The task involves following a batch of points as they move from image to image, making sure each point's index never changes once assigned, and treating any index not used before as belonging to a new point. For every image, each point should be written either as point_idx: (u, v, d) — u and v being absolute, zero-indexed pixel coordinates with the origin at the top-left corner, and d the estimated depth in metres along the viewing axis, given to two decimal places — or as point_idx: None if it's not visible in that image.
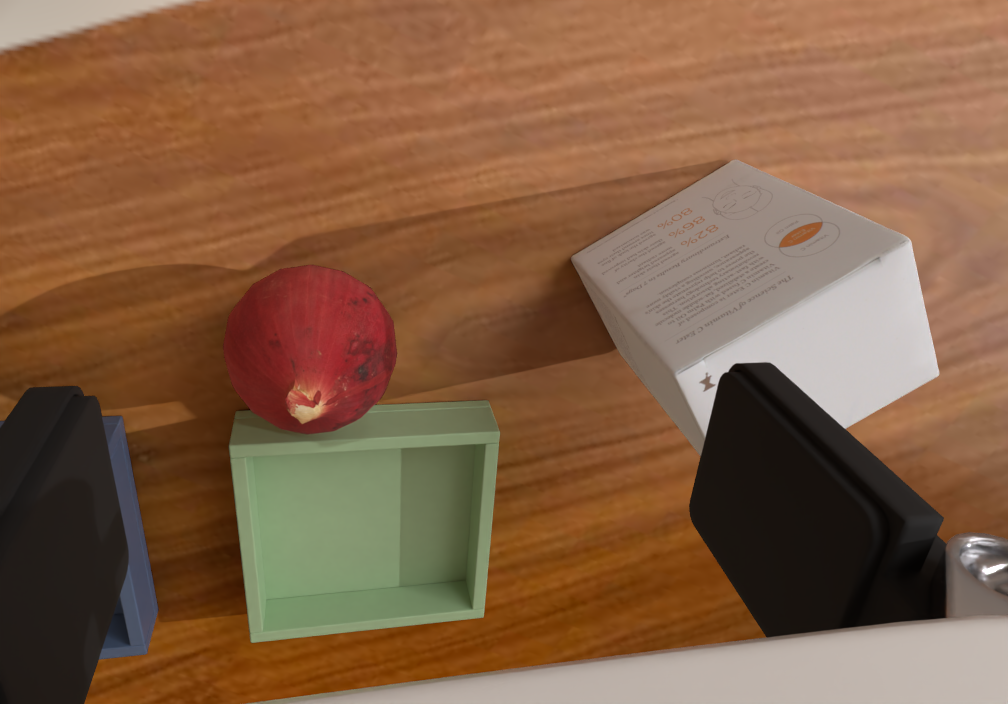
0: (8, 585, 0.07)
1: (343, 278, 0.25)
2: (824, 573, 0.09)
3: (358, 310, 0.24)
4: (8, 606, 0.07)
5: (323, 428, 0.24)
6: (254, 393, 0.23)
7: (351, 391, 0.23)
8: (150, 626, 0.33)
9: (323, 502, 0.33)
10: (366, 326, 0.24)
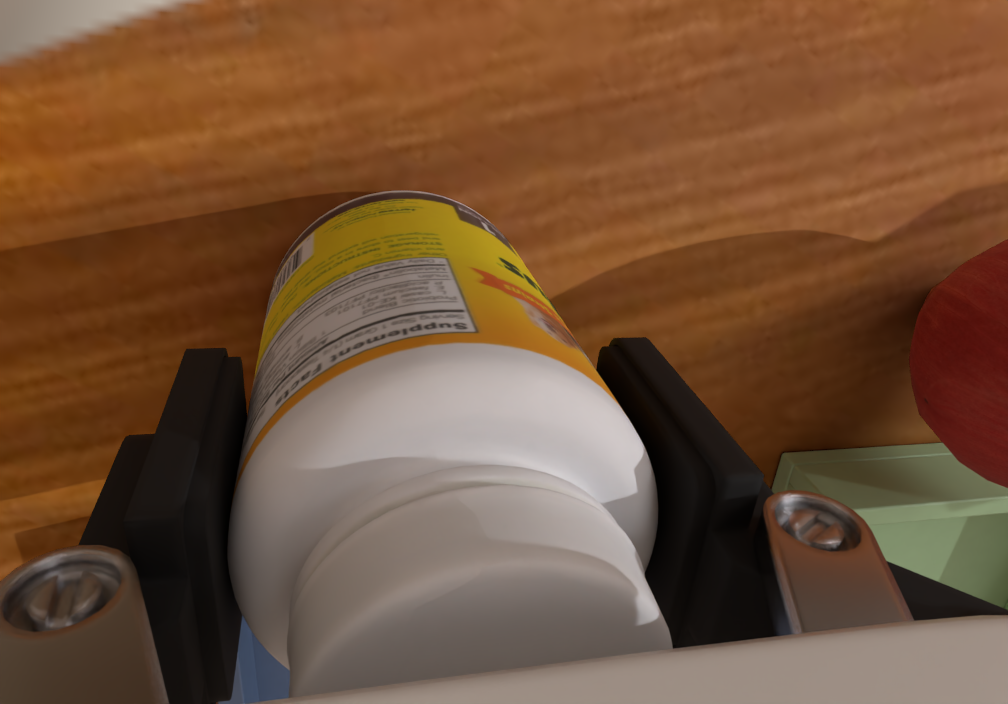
0: (213, 505, 0.08)
1: None
2: (669, 532, 0.10)
3: None
4: (214, 523, 0.08)
5: None
6: None
7: None
8: None
9: None
10: None
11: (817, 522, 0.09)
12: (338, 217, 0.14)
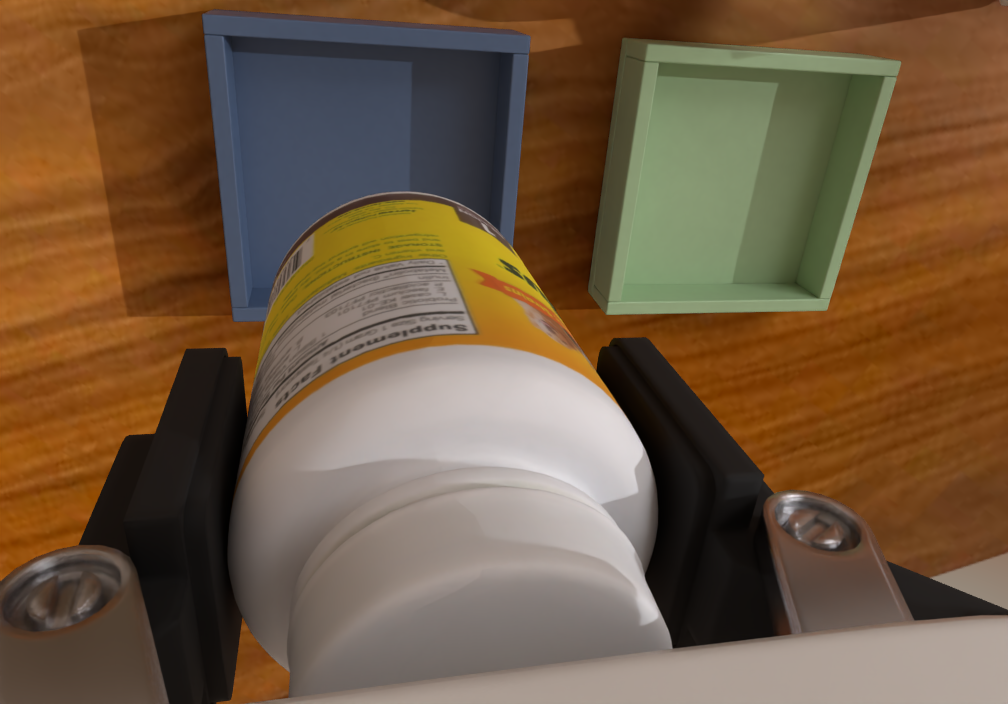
0: (213, 505, 0.08)
1: None
2: (668, 532, 0.10)
3: None
4: (214, 523, 0.08)
5: None
6: None
7: None
8: None
9: (685, 162, 0.31)
10: None
11: (817, 522, 0.09)
12: (338, 218, 0.14)
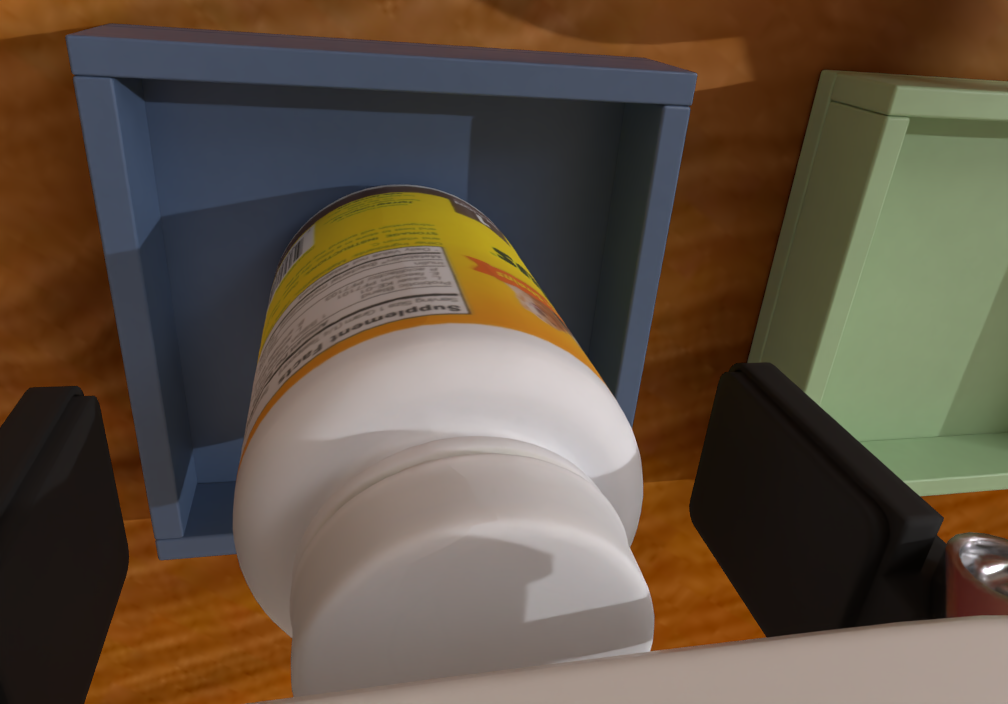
0: (8, 585, 0.07)
1: None
2: (824, 573, 0.09)
3: None
4: (8, 606, 0.07)
5: None
6: None
7: None
8: None
9: (899, 267, 0.19)
10: None
11: None
12: (338, 209, 0.14)
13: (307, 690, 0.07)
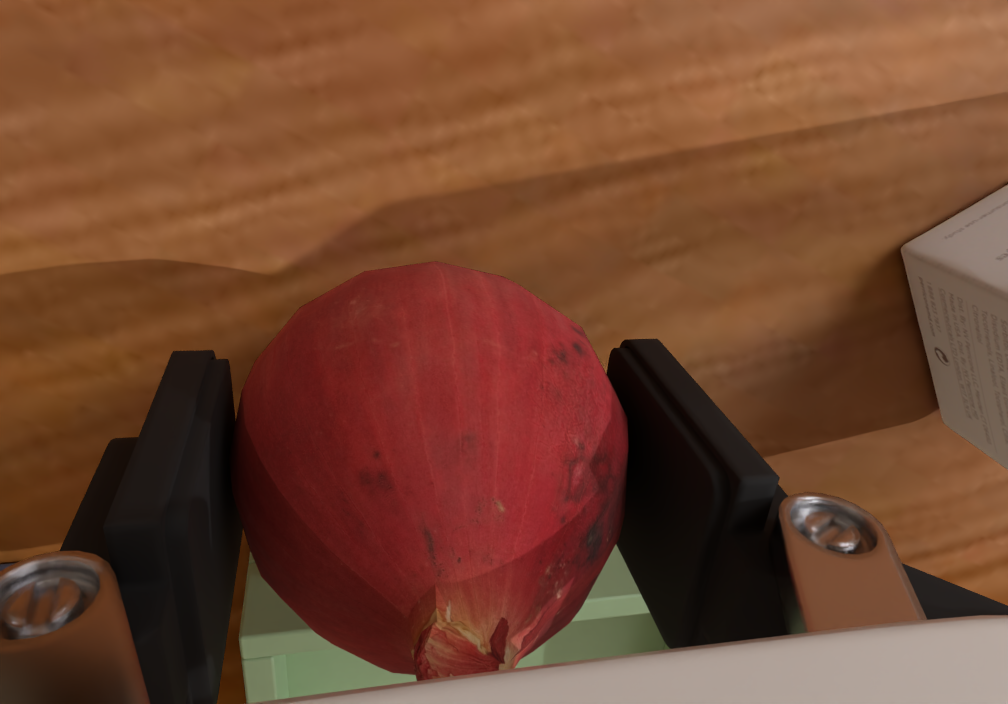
0: (196, 510, 0.08)
1: (520, 294, 0.10)
2: (682, 534, 0.10)
3: (572, 376, 0.10)
4: (197, 528, 0.08)
5: None
6: (313, 602, 0.09)
7: (571, 596, 0.09)
8: None
9: None
10: (592, 418, 0.10)
11: (833, 525, 0.09)
12: None
13: None
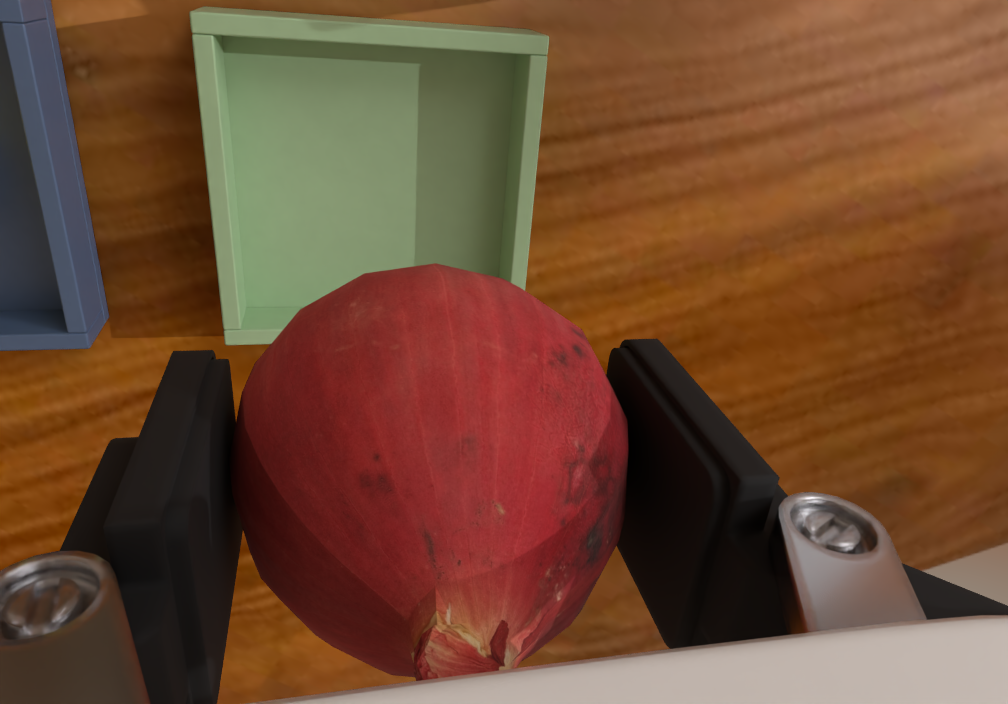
0: (196, 510, 0.08)
1: (520, 296, 0.10)
2: (682, 534, 0.10)
3: (572, 378, 0.10)
4: (197, 528, 0.08)
5: None
6: (313, 604, 0.09)
7: (570, 598, 0.09)
8: (96, 321, 0.26)
9: (317, 160, 0.25)
10: (592, 420, 0.10)
11: (833, 525, 0.09)
12: None
13: None
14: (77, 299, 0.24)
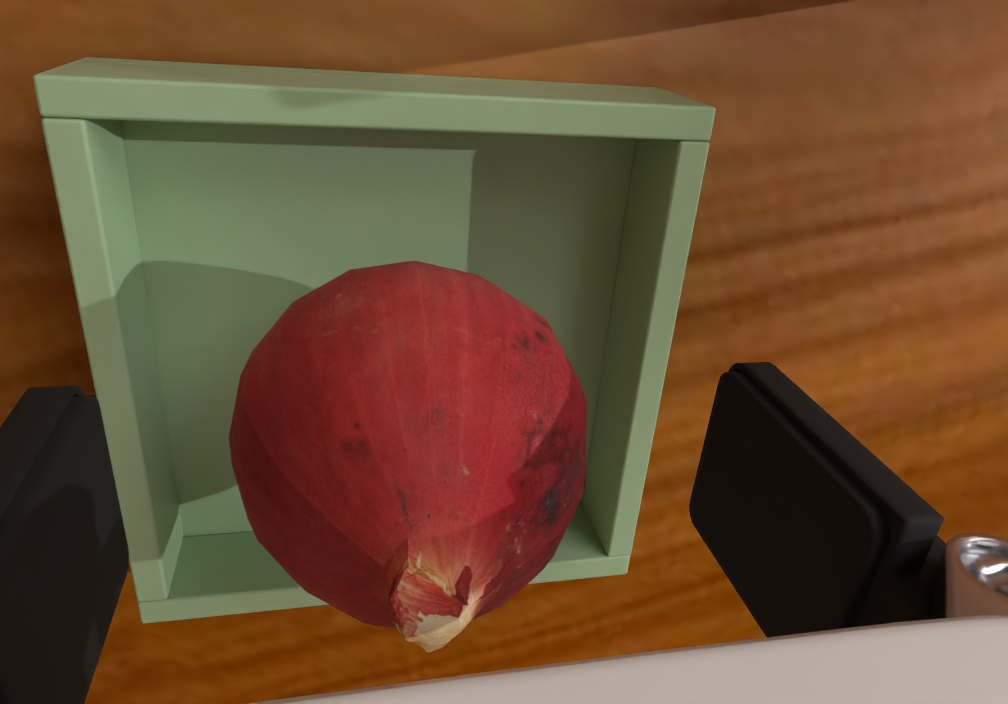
0: (8, 585, 0.07)
1: (489, 289, 0.11)
2: (824, 573, 0.09)
3: (533, 360, 0.11)
4: (8, 606, 0.07)
5: None
6: (301, 558, 0.10)
7: (530, 552, 0.10)
8: None
9: None
10: (551, 397, 0.11)
11: None
12: None
13: None
14: None
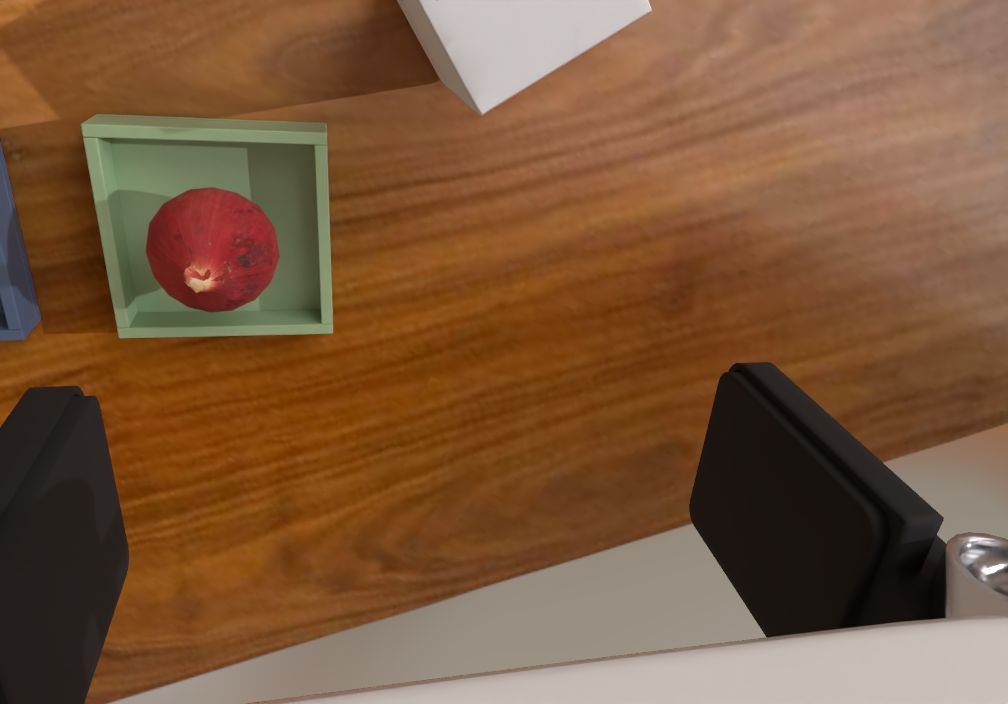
0: (8, 585, 0.07)
1: (233, 195, 0.34)
2: (824, 573, 0.09)
3: (242, 216, 0.33)
4: (8, 606, 0.07)
5: (217, 303, 0.33)
6: (164, 274, 0.32)
7: (235, 273, 0.32)
8: (29, 322, 0.37)
9: None
10: (248, 228, 0.33)
11: None
12: None
13: None
14: (14, 307, 0.36)
